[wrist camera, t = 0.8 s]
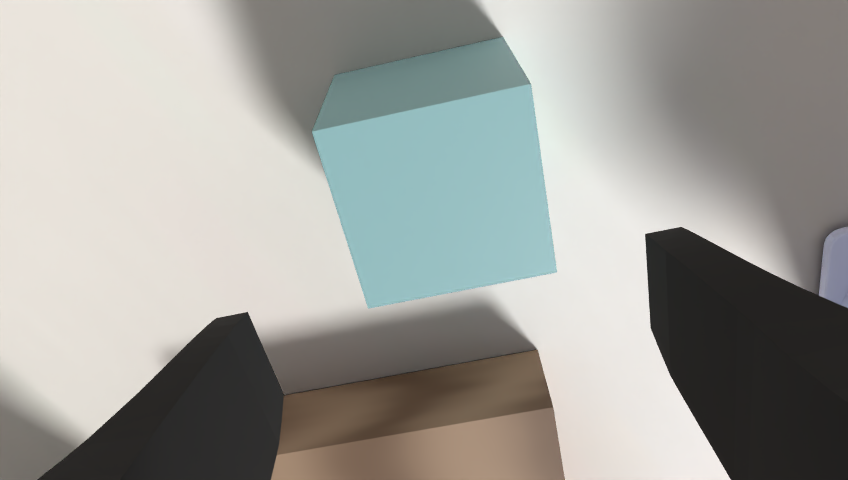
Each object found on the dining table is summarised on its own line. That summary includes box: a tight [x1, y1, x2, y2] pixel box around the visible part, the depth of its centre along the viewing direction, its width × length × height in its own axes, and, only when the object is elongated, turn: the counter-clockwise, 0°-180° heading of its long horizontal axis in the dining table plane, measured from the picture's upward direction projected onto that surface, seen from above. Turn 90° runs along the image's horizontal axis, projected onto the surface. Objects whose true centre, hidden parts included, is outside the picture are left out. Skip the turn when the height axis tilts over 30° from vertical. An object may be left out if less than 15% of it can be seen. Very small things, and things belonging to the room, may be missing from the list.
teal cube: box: [312, 37, 557, 308], centre depth 18 cm, size 5×5×5 cm
